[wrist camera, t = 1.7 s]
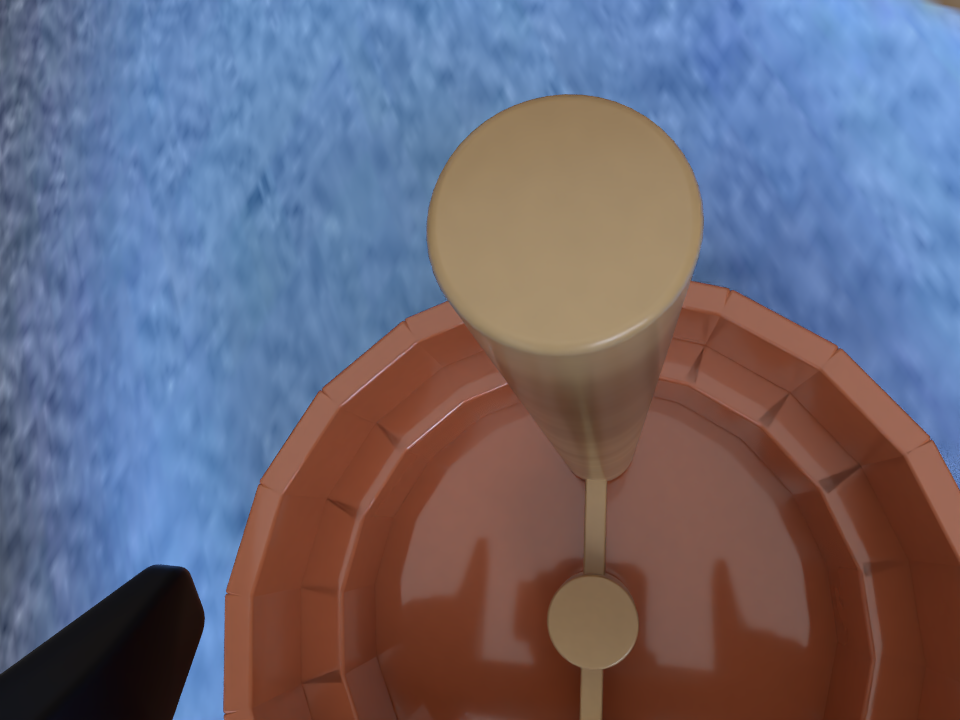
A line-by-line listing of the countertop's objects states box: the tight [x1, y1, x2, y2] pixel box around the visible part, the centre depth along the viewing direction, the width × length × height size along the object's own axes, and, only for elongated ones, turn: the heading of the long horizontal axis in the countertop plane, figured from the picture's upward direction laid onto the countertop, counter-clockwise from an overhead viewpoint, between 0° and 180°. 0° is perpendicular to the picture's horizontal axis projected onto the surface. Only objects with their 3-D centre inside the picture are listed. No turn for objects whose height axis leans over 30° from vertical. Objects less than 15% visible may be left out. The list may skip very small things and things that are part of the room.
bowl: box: [223, 281, 960, 720], centre depth 17 cm, size 14×14×6 cm
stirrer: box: [427, 94, 704, 720], centre depth 12 cm, size 10×2×15 cm, turn 177°
